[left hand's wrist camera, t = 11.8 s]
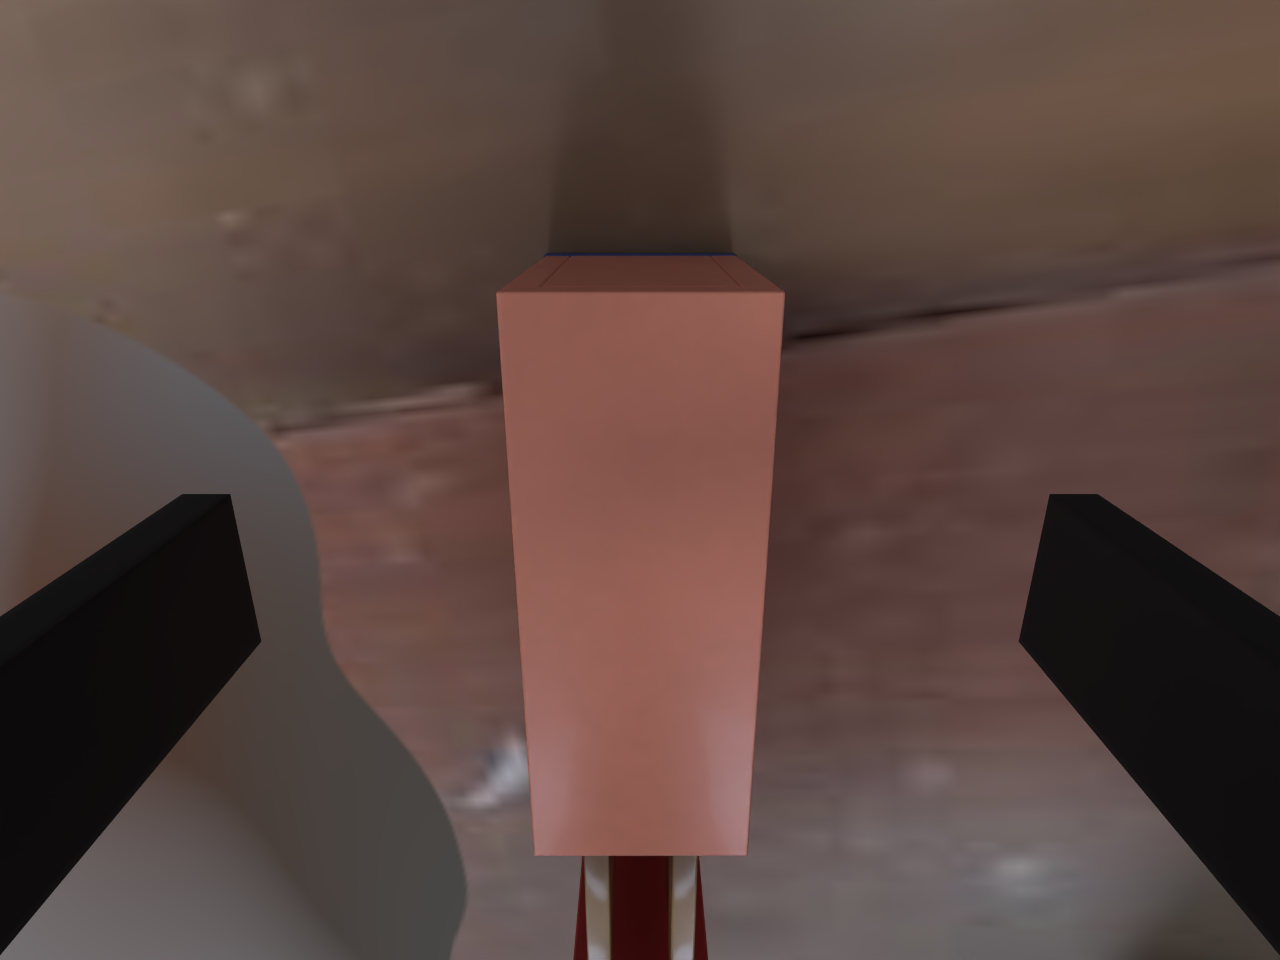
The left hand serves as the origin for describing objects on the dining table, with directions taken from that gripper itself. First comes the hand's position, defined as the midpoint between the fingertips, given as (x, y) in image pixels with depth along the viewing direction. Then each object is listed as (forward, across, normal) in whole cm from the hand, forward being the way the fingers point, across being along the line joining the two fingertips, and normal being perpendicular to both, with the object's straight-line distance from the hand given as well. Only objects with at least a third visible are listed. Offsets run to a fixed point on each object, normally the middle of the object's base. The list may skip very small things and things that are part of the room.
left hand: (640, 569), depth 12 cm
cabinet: (+16, 0, -4) cm, 16 cm away
